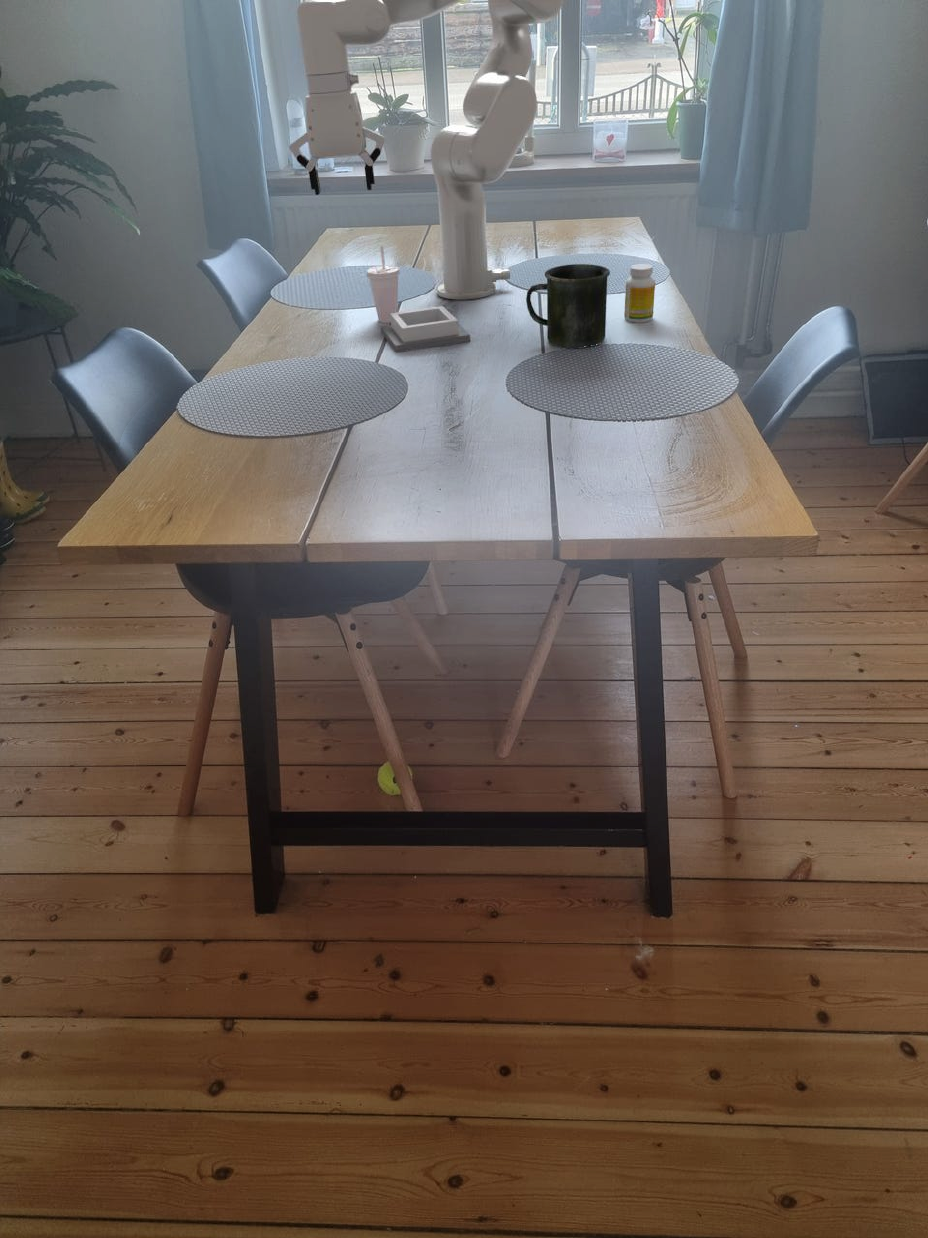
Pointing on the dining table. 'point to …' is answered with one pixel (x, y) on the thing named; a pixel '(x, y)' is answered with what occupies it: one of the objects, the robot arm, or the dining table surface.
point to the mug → (574, 305)
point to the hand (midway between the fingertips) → (343, 191)
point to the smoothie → (384, 289)
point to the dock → (423, 329)
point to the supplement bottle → (639, 294)
